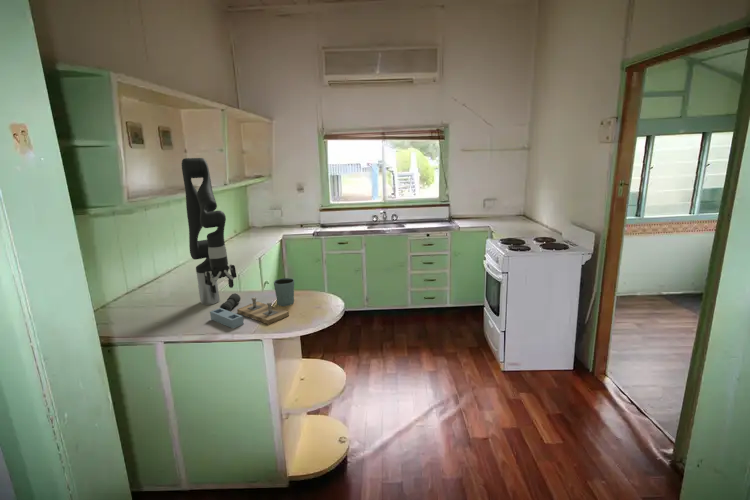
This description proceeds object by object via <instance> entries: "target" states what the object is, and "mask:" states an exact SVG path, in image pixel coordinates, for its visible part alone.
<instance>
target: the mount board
mask: <svg viewBox="0 0 750 500" xmlns="http://www.w3.org/2000/svg"><path fill="white" fill-rule="evenodd" d="M250 299H251V301H252V303H250V304H247V305H245V306H242V307H239V308H237V309H236V311H237V314H238V315H241V316H243V317H247V318H250V319H253V320H256V321H259V322H261V323H263V324H265V325H270V324H273V323H275V322H278V321H280V320H282V319H284V318H286V317H289V316H290V311H288V310H285V309H282V308H279V307H276V306H273V303H272V302H271V301H269V302H266V303H263V302H260V301H256V300H257V297H254V296H253V297H251V298H250Z"/></svg>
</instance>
